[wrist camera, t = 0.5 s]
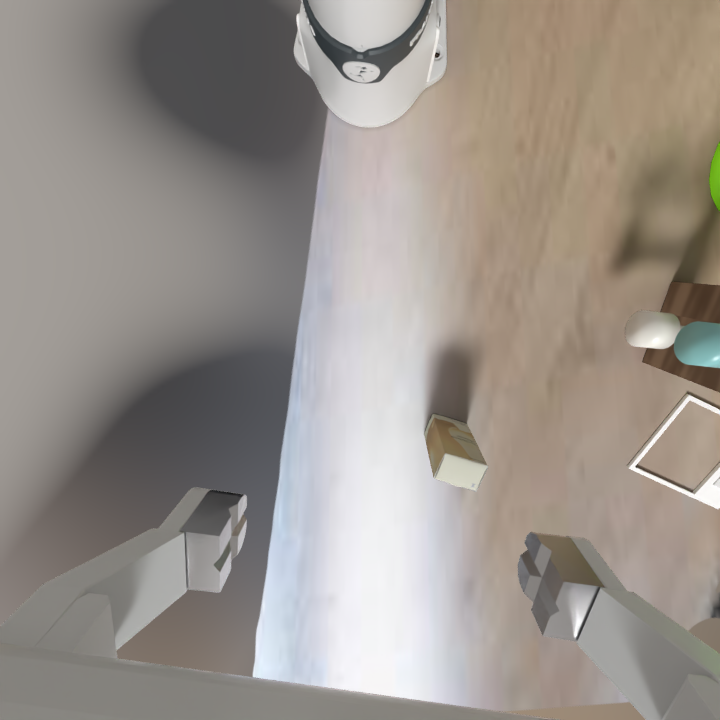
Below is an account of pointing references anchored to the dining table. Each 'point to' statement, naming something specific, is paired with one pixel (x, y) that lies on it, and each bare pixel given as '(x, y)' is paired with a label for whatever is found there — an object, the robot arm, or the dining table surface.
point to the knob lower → (652, 329)
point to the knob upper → (699, 344)
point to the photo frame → (712, 490)
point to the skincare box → (454, 453)
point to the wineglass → (715, 178)
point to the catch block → (687, 307)
